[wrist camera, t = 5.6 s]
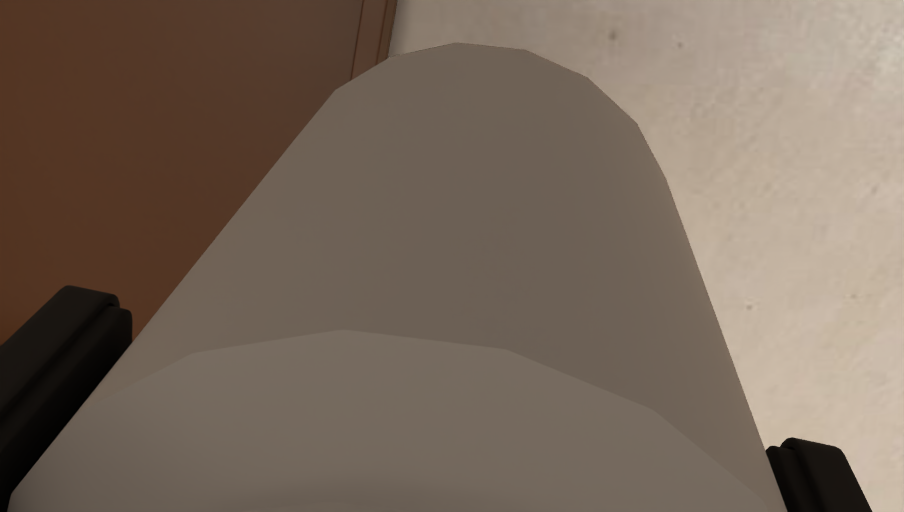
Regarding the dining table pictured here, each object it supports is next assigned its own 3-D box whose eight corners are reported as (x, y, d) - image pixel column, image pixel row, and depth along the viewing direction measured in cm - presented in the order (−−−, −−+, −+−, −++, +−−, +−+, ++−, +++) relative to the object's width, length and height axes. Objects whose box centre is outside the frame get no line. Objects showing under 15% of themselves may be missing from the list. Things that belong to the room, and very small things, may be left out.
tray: (-95, -359, 26) (-157, -378, 24) (438, -233, 26) (429, -239, 24) (-48, 339, 37) (-87, 372, 35) (323, 423, 38) (308, 462, 35)
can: (406, -54, 15) (56, 249, 4) (749, 174, 16) (1179, 867, 5) (227, 266, 18) (-239, 912, 7) (524, 435, 19) (506, 1202, 8)
